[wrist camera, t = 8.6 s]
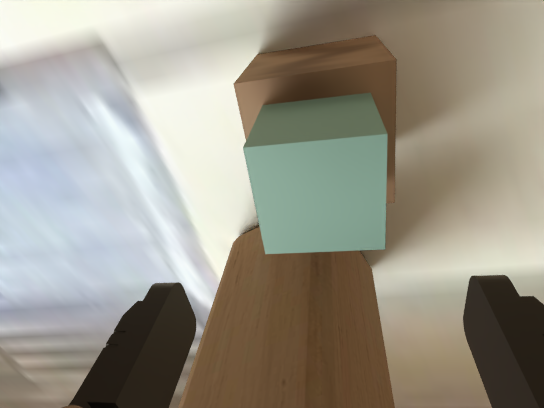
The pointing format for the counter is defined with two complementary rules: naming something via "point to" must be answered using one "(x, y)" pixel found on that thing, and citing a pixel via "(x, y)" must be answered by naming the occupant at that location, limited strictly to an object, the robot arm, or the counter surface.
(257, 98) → the walnut block
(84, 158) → the counter surface
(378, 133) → the teal cube
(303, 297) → the block
